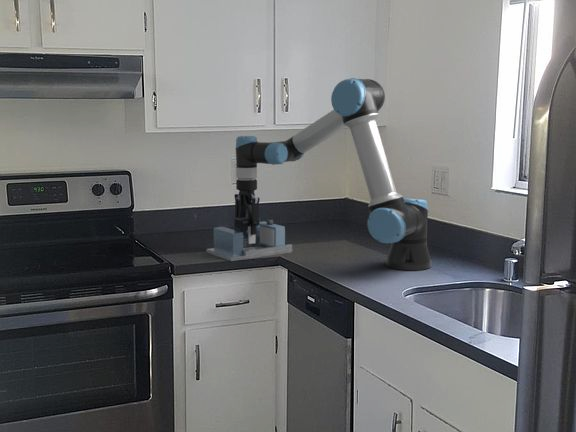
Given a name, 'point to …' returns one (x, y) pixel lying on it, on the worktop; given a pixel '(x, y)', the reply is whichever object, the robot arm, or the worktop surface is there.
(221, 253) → the vise base
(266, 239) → the block
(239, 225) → the box
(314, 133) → the robot arm
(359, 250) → the worktop surface
